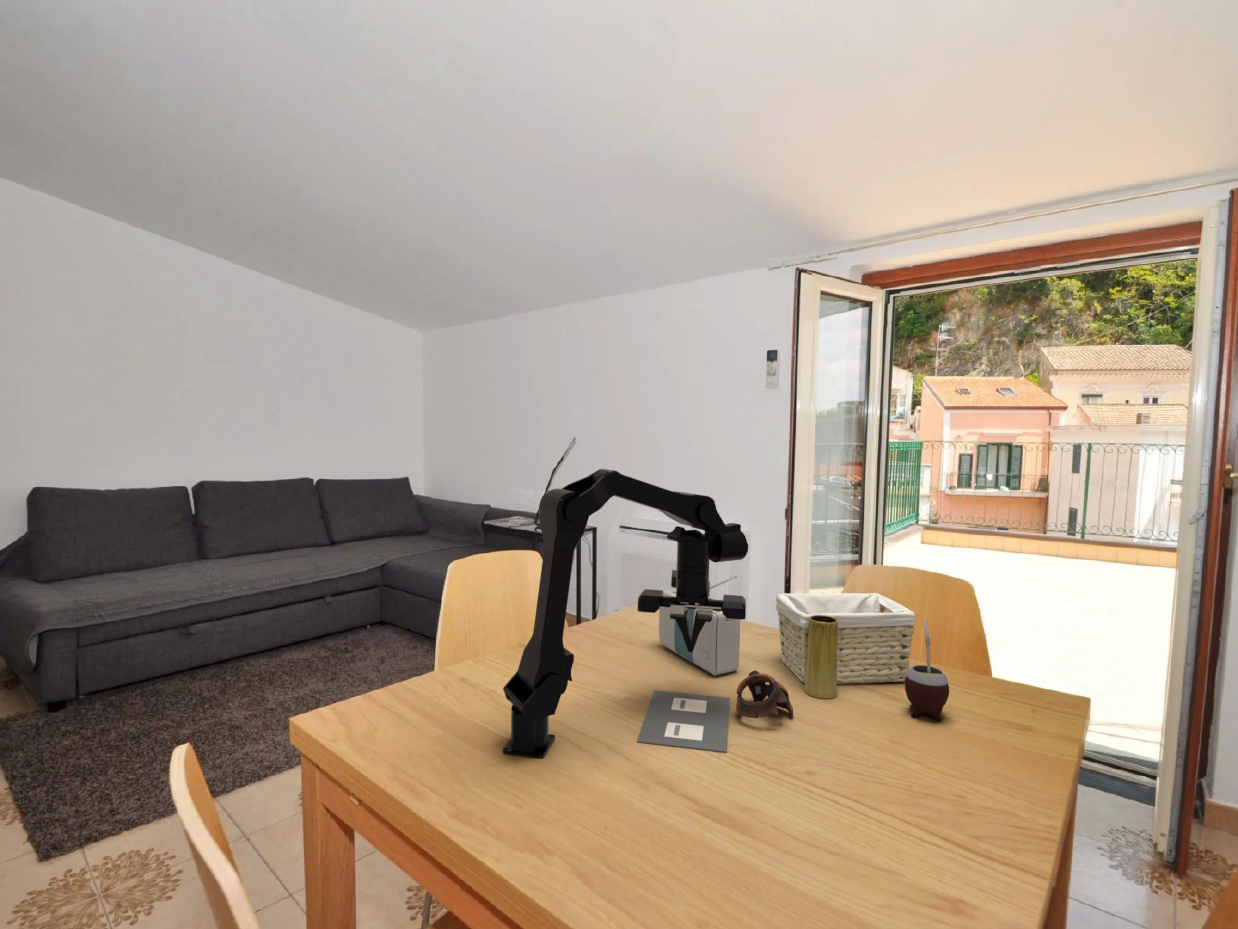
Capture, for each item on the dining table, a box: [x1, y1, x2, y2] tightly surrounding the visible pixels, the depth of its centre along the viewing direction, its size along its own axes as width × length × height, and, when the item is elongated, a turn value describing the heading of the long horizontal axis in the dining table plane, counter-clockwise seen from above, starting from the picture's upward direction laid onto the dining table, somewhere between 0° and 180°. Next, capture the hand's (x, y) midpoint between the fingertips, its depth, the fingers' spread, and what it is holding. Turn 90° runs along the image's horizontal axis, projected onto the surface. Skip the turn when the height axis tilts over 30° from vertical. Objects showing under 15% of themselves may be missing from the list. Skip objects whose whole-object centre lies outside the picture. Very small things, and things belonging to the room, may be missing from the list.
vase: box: [803, 615, 838, 700], centre depth 119 cm, size 6×6×14 cm
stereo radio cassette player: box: [658, 575, 741, 677], centre depth 135 cm, size 21×8×20 cm, turn 28°
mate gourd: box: [904, 621, 950, 724], centre depth 110 cm, size 8×8×15 cm
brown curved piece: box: [735, 670, 794, 719], centre depth 109 cm, size 12×10×8 cm
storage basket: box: [775, 592, 916, 685], centre depth 130 cm, size 24×16×15 cm
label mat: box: [636, 689, 730, 754], centre depth 107 cm, size 20×14×1 cm
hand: (690, 651), depth 111 cm, fingers closed
